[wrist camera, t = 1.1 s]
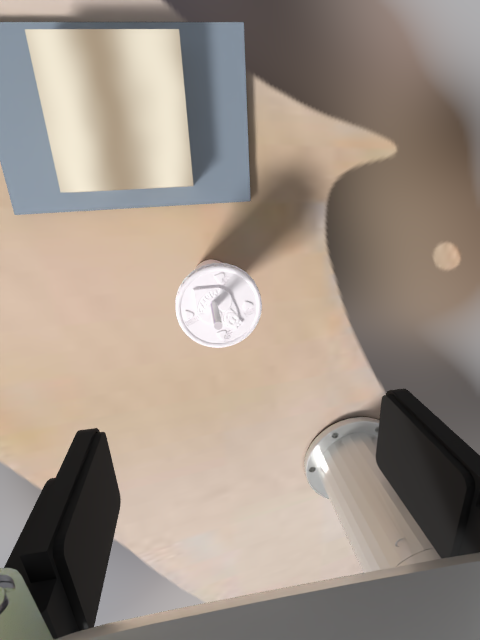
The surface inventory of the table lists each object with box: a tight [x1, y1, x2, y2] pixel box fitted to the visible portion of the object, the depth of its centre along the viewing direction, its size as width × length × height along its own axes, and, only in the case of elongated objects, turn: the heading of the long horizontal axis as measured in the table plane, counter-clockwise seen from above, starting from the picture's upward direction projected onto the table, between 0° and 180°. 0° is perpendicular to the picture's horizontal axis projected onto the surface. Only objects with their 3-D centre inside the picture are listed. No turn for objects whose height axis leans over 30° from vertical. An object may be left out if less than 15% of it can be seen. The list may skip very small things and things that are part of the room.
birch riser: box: [25, 29, 193, 192], centre depth 26 cm, size 10×10×3 cm
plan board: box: [0, 22, 250, 215], centre depth 28 cm, size 20×13×1 cm, turn 93°
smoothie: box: [176, 259, 262, 348], centre depth 27 cm, size 6×6×14 cm
